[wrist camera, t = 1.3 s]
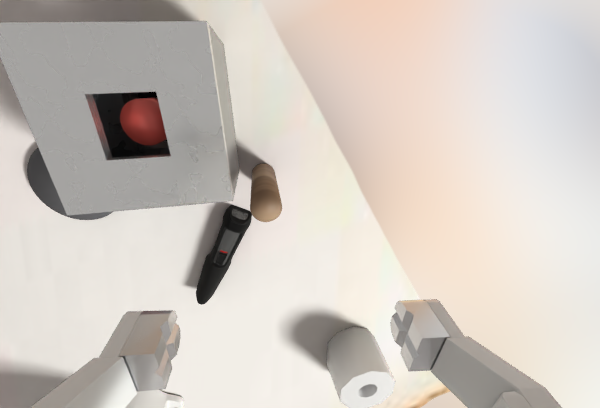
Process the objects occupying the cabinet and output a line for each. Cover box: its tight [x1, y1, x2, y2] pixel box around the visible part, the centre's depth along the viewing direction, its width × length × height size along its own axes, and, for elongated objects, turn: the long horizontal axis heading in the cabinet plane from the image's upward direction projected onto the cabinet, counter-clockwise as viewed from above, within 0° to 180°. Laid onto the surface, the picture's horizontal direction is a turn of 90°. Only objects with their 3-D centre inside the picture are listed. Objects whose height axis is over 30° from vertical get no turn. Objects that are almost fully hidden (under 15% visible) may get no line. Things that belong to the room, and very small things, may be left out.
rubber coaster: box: [27, 148, 112, 220], centre depth 32 cm, size 10×10×1 cm
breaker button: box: [120, 98, 167, 145], centre depth 25 cm, size 4×4×3 cm
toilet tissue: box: [327, 327, 395, 408], centre depth 48 cm, size 9×13×9 cm
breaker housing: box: [0, 21, 240, 215], centre depth 26 cm, size 14×14×11 cm
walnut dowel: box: [250, 164, 282, 222], centre depth 31 cm, size 3×3×11 cm
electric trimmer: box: [196, 205, 252, 304], centre depth 38 cm, size 4×16×3 cm, turn 153°
